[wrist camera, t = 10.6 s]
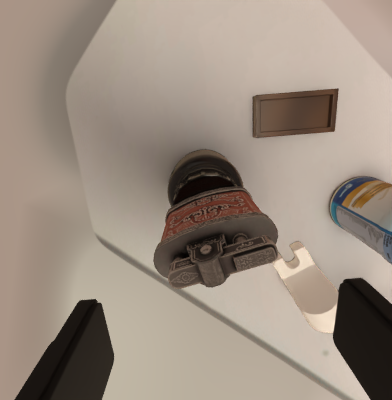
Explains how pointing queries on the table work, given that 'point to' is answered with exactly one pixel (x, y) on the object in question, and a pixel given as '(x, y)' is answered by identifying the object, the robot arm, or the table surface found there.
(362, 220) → the beverage bottle
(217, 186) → the ink bottle
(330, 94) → the tray
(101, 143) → the table surface
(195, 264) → the lighter
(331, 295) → the white l-shaped piece
